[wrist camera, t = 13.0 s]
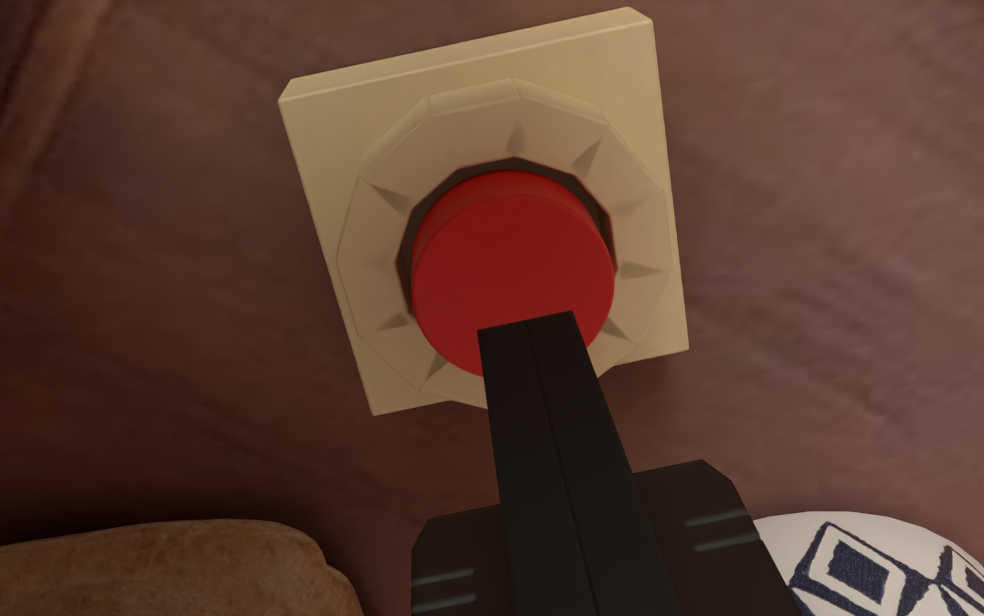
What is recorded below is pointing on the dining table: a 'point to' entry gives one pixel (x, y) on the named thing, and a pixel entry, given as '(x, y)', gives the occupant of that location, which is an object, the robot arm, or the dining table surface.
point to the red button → (506, 262)
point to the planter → (871, 566)
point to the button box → (481, 148)
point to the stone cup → (175, 572)
